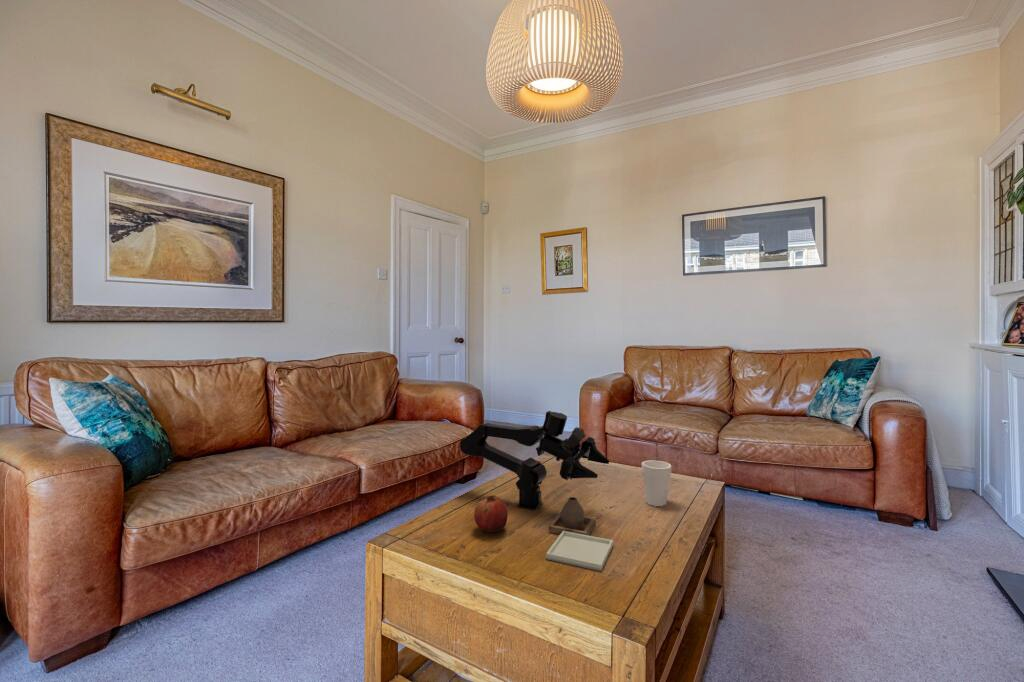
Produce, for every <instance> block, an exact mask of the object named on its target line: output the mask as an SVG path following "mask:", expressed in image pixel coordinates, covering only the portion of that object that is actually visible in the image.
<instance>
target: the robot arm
mask: <svg viewBox="0 0 1024 682" xmlns="http://www.w3.org/2000/svg"><path fill="white" fill-rule="evenodd" d="M544 416H545V418H544V422H543V425H542V426H539V425H526V426H510V425H509V426H508V425H501V424H493V423H490V422H485V423H482V424H479V425H478V427H476V429H474V431H472V432H471V433H470V434H468V435H467V436H466V437H463V438H462V439H461V440H460V442H459V448H460V452H461V453H462V454H463V455H466V456H470V457H480V458H483V459H486V460H488V461H489V462H491V463H494V464H496V465H498V466H500V467H502V468H504V469H506V470H509V471H510V472H511V473H514V474H516V476H517V477H518V480H517V481H516V482H515V485H516V488H517V489H518V490H519V491H518V493H519V495H518V503H517V505H516V507H518V506H519V507H518V508H524V509H529V510H536V509H537V508H538V507H539V506H540V505H541V504H542V503H543V500H542V491H541V486H540V485H541V484H542V483H543V481H544V480H545V479H546V477H547V475H548V474H547V468H546V466H545V465H544V464H542V461H539V460H537V459H535V458H533V457H529V458H527V459H525V460H523V459H520V458H518V457H515V456H513V455H511V454H509V453H507V452H505V451H503V450H500V449H499V448H496V447H494V446H492V445H490V444H489V443H488V442H487V439H488V437H492V438H499V439H506V440H511V441H515V442H517V443H518V444H520V445H523V446H526V447H533V446H534V445H536V444H538V443H539V445H538V446H537V447H535V450H536V454H537V456H538V457H541V456H542V455H544V454H545V453H547V454H548V455H551V456H553V457H554V458H555V461H557V462H560V461H561V465H560V470H559V475H560V477H561V479H564V480H565V481H568V480H572V479H597V478H598V474H597V473H596V472H595V471H593V470H591V469H589V468H587V467H586V466H585V465H582V463H581V461H580V460H581V459H582V458H583V459H587V461H589V462H594V463H599V464H606V465H608V464H609V463H610V460H609V459H608V457H606V456H605V455H604V454H602V453H601V451H599V450H598V448H597V446H596V442H595V438H593V437H591V436H588V437H586V434H585V431H584V429H583V428H580V427H577V426H575V428H573V430H572V431H571V434H570V436H569V437H568V438H565V439H561V438H559V436H561V435H563V433H564V430H565V427H566V423H567V420H568V416H567V415H566V414H564V413H562V412H557V411H552V410H548V411H546V412H545V415H544ZM585 437H586V438H585ZM583 438H585V439H584V440H583ZM581 441H582V442H581Z"/></svg>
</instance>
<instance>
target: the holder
mask: <svg viewBox="0 0 1024 682" xmlns="http://www.w3.org/2000/svg"><path fill="white" fill-rule="evenodd" d="M560 523H562V521H561V511H560V512H559V513H558V514H557V515H556V516H555V518H554V519H553V520H552V522H551V523H549V525H548V533H550V534H555V535H558V536H560V534H561V533H562V532H563V531H567V532H572V533H577V534H583V535H588V536H590V534H591V532H593V530H594V528H595V526H596V525H597V519H596V517H593V516H585V520H584V524H586V527H585V528H584V530H581V529H579V530H575V529H570V528H565V527H564V526H559V524H560Z"/></svg>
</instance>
